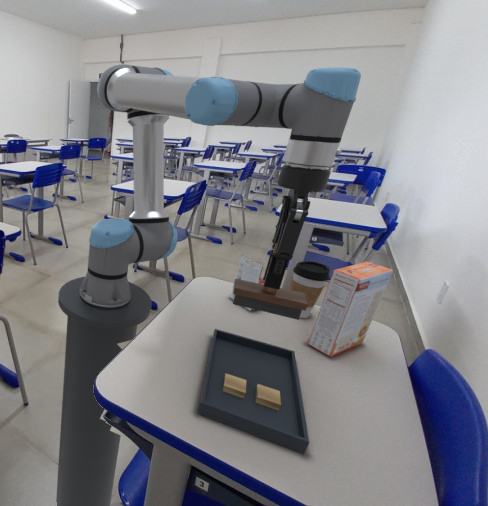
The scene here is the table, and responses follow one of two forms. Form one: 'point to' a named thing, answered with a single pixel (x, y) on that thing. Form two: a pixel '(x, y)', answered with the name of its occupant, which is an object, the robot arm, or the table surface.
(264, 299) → the brush
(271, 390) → the chip
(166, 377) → the table surface
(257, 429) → the tray
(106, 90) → the robot arm
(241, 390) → the tan square block
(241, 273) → the ink box
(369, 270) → the cracker box
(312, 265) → the coffee cup
